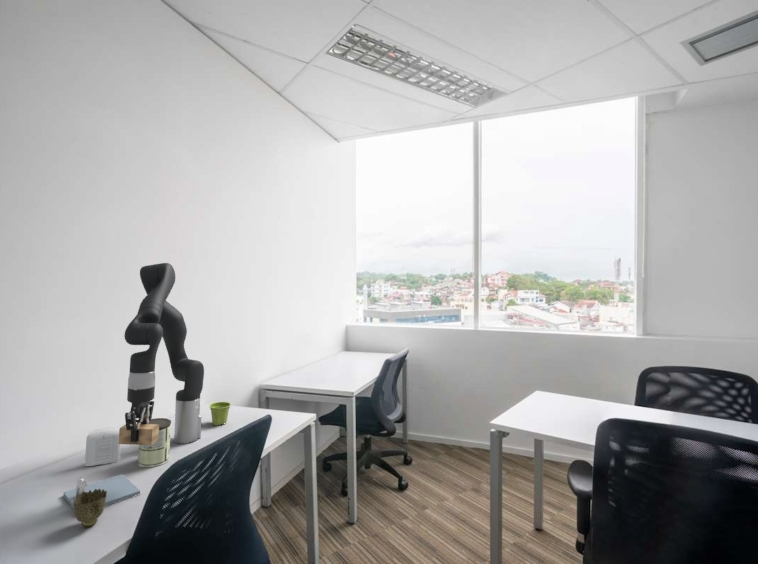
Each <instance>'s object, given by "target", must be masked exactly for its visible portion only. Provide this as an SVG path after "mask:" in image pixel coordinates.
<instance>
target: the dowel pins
mask: <svg viewBox="0 0 758 564" xmlns="http://www.w3.org/2000/svg"><path fill="white" fill-rule="evenodd" d="M75 481H76V483H75V484H76V485H75V486H76V487H75V488H76V498H77V495H78V494H81V493H82V492H83V491H84V492H86V485H87V481H84V478H83V477H78V478H77V479H76V480H75Z"/></svg>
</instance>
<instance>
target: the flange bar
mask: <svg viewBox="0 0 758 564" xmlns="http://www.w3.org/2000/svg"><path fill="white" fill-rule="evenodd" d="M136 426H137V423H136ZM118 428H119V427H118ZM158 434H159V424H140V428H139V441H137V442H131V441H130V439H131V430H127V429H126V424H124V425H122V426H120V428H119V444H120V445H131V446H132V445H134V446H135V445H136V446H139V445H152V444H153V443H155V442H156V441H157V440H158Z"/></svg>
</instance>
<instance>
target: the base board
mask: <svg viewBox="0 0 758 564" xmlns="http://www.w3.org/2000/svg"><path fill="white" fill-rule="evenodd" d="M95 489H97V490H98V489H101V492H102V490H103V489H104V492H105V491H107V495H106V501H105V506H106V507H108V506H112V505H115V504H117V503H120V502H122V500H123V501H125V499H126V500H128V499H127V498H129V499H131V498H133V496H134V497H136V496H135V495H137V496H139V495H138V494H140V495H141V490H140V489H139V488H138V487H137V486H136V485H135V484H133V482H131V481H130V479H129V478H127V477H126V476H125V475H124V474H123V473H122V474H119V475H115V476H111V477H108V478H105V479H102V480H99V481H95V482H92V483H90V484H86V492H89V490H91V491H92V492H93V491H94V490H95ZM63 497H64V499H65V500H66V502H67V503H68V505H69V506H70V507H71V509H72V510H73V511H74V502H73V500H74V499H77V498H76V487H75V488H72V489H69V490H66V491H63ZM119 501H120V502H119ZM105 506H104V508H105Z"/></svg>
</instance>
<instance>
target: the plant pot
mask: <svg viewBox="0 0 758 564" xmlns="http://www.w3.org/2000/svg"><path fill="white" fill-rule="evenodd" d="M231 405H232V404H231V402H227V401H217V402H212V403H210V404H209V406H208V407H209V408H210V411H211V412H210V414H211V420H212V425H214V426H220V425H221V424H224V423H226V422H227V421H228V416H229V410H230V408H231ZM227 423H228V422H227ZM227 423H226V424H227ZM224 425H225V424H224ZM221 426H222V425H221Z"/></svg>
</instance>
